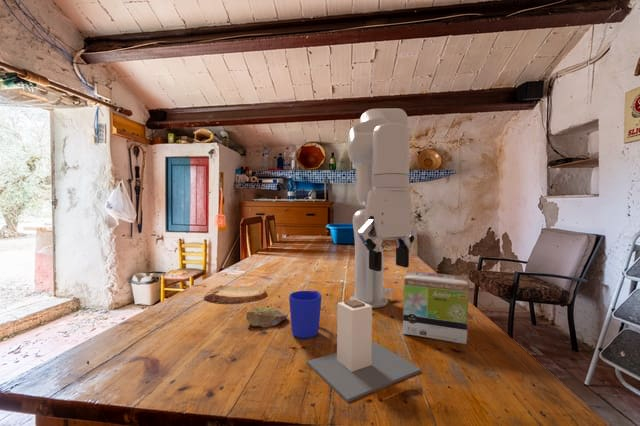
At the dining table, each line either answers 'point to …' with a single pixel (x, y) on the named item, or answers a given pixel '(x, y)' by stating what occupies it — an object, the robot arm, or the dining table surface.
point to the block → (354, 334)
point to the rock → (265, 316)
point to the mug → (305, 313)
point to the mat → (363, 373)
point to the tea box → (436, 306)
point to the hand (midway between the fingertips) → (389, 267)
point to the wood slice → (235, 294)
